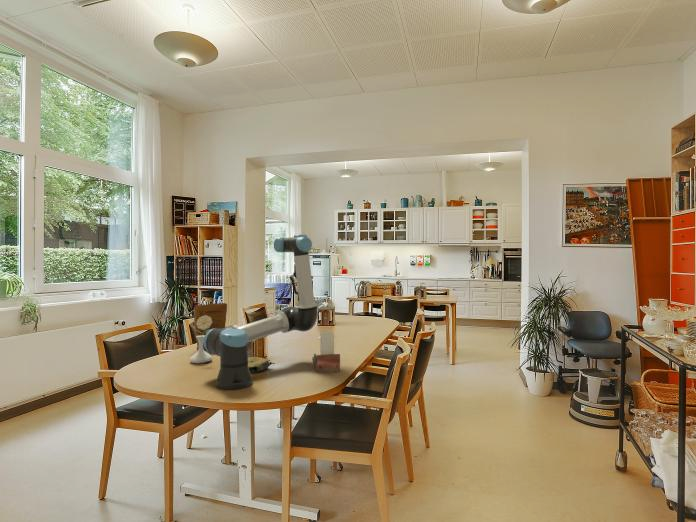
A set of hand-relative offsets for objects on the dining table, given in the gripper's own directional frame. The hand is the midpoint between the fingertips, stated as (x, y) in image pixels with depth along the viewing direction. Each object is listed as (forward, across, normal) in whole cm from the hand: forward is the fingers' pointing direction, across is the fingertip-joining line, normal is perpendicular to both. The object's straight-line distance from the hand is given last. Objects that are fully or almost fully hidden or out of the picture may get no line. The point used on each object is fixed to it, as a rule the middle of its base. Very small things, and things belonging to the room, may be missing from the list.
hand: (301, 307), depth 219 cm
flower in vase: (+29, +52, -7) cm, 60 cm away
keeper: (+26, -11, +22) cm, 36 cm away
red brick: (+28, -11, +15) cm, 34 cm away
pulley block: (+29, +29, +9) cm, 42 cm away
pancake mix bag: (+29, +52, -36) cm, 69 cm away
